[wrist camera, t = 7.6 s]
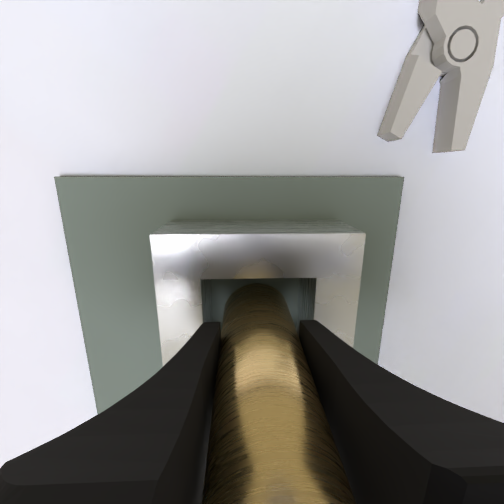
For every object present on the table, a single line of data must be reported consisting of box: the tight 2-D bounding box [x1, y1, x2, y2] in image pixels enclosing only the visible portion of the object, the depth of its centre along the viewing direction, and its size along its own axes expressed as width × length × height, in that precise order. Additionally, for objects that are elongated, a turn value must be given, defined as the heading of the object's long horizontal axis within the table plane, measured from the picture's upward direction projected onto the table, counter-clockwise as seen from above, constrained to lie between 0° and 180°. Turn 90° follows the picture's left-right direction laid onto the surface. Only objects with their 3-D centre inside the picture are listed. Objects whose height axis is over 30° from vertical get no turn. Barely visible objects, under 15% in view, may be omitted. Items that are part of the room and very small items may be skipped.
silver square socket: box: [150, 220, 366, 366], centre depth 13 cm, size 8×8×3 cm
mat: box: [54, 177, 404, 414], centre depth 15 cm, size 16×18×1 cm
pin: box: [202, 283, 356, 504], centre depth 9 cm, size 3×3×9 cm
